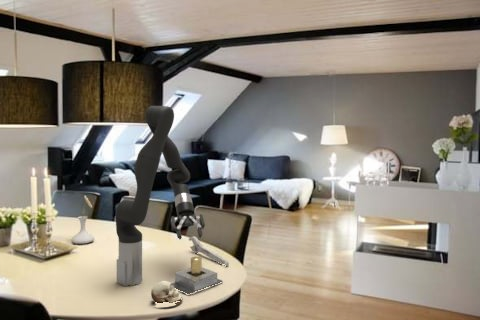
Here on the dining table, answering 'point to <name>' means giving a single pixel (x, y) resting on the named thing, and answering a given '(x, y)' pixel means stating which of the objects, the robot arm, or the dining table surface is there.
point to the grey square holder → (194, 280)
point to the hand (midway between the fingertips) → (190, 237)
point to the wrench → (206, 251)
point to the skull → (165, 293)
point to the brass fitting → (196, 266)
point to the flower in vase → (83, 228)
